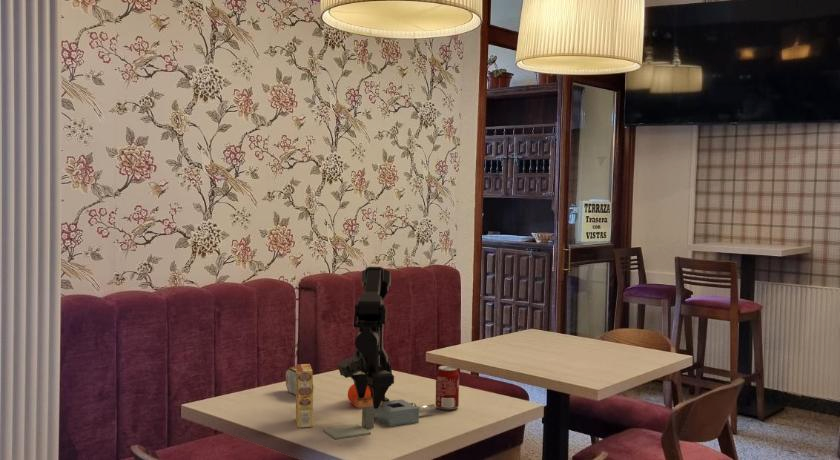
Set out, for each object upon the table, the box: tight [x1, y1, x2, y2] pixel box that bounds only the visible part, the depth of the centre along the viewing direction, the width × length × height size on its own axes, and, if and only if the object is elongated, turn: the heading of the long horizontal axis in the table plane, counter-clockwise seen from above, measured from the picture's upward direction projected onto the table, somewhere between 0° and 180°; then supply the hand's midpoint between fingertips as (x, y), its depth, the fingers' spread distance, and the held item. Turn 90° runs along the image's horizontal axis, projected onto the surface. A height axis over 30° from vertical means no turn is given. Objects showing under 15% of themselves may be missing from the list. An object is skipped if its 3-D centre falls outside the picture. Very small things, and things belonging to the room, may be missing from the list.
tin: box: [284, 365, 296, 397], centre depth 246 cm, size 15×3×8 cm, turn 34°
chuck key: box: [353, 397, 382, 430], centre depth 214 cm, size 2×7×8 cm, turn 119°
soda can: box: [435, 365, 460, 411], centre depth 235 cm, size 7×7×12 cm
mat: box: [323, 423, 372, 440], centre depth 209 cm, size 8×10×1 cm
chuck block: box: [374, 399, 436, 427], centre depth 224 cm, size 10×17×4 cm, turn 119°
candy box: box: [295, 363, 314, 428], centre depth 217 cm, size 9×4×15 cm, turn 13°
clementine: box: [347, 383, 371, 406], centre depth 236 cm, size 8×7×7 cm
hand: (368, 404), depth 214 cm, fingers open, 9 cm apart
